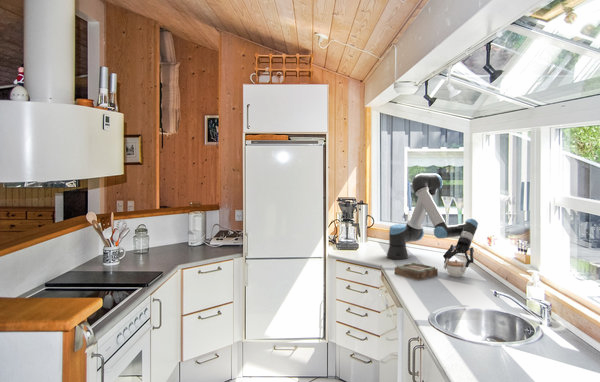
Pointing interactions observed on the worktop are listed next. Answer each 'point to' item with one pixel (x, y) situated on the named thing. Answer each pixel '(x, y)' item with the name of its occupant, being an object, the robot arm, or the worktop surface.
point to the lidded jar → (455, 268)
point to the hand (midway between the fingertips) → (453, 269)
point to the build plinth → (416, 271)
